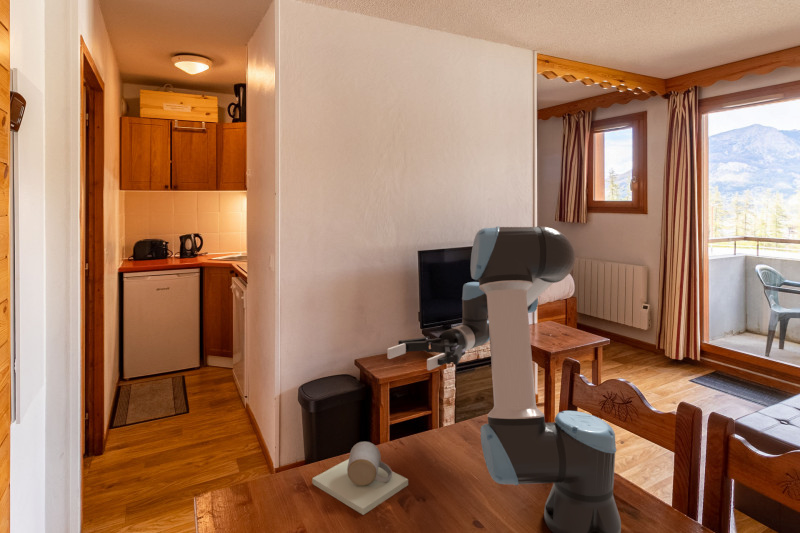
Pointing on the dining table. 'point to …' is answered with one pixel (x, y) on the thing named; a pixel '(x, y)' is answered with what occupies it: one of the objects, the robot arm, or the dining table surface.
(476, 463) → the dining table surface
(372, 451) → the ceramic mug
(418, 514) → the dining table surface
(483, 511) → the dining table surface
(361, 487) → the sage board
